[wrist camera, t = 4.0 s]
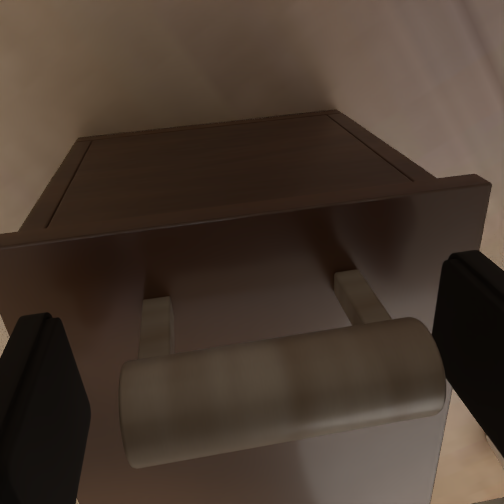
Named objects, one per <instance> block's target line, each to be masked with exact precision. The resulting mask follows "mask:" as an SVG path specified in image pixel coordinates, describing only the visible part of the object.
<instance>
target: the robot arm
mask: <svg viewBox="0 0 504 504" xmlns="http://www.w3.org/2000/svg"><path fill="white" fill-rule="evenodd" d="M432 336H433V338H434V340H435V342H436V345H437V347H438V349H439V352H440V355H441V358H442V362H443V366H444V371H445V377H446V379H447V381H448V382H449V383H450V385H451V386H452V388H453V389H454V390H455V392H456V393H457V395H458V396H459V397H460V399H461V400H462V401H463V403H464V404H465V406H466V407H467V408H468V410H469V411H470V412H471V414H472V415H473V417H474V418H475V419H476V421H477V422H478V423H479V425H480V426H481V428H482V429H483V430H484V432H485V433H486V435H487V436H488V437H489V439H490V440H491V441H492V443H493V444H494V446H495V447H496V448H497V450H498V451H499V452H500V454H501V455H502V457H503V458H504V271H503V270H502V269H501V268H499V267H498V266H497V265H496V264H495V263H493V262H492V261H491V260H490V259H488V258H487V257H486V256H485V255H484V254H482V253H481V252H480V251H478V250H470V251H463V252H456V253H452V254H450V256H449V258H448V260H445V261H444V262H443V264H442V269H441V275H440V282H439V289H438V295H437V302H436V308H435V315H434V322H433V328H432ZM90 421H91V407H90V403H89V400H88V397H87V394H86V391H85V388H84V385H83V382H82V379H81V376H80V373H79V370H78V367H77V364H76V361H75V358H74V355H73V352H72V349H71V347H70V344H69V341H68V338H67V335H66V332H65V329H64V326H63V323H62V321H61V319H60V318H59V317H56V318H53V317H52V315H51V314H50V313H49V312H45V313H38V314H31V315H24V316H21V317H20V318H19V319H18V321H17V323H16V325H15V327H14V330H13V332H12V334H11V336H10V338H9V340H8V343H7V345H6V347H5V349H4V351H3V353H2V355H1V358H0V504H76V498H77V493H78V487H79V482H80V476H81V471H82V465H83V460H84V454H85V449H86V443H87V438H88V432H89V427H90ZM473 504H504V497H503V498H498V499H493V500H488V501H483V502H478V503H473Z"/></svg>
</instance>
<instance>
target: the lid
mask: <svg viewBox="0 0 504 504" xmlns="http://www.w3.org/2000/svg"><path fill="white" fill-rule="evenodd" d="M491 187H492V184H491V183H490V182H488V181H487V180H485V179H483V178H482V177H480V176H478V175H477V174H469V175H461V176H453V177H445V178H437V179H429V180H422V181H414V182H406V183H398V184H390V185H382V186H374V187H366V188H359V189H351V190H343V191H335V192H327V193H319V194H311V195H303V196H296V197H288V198H280V199H272V200H264V201H256V202H248V203H241V204H233V205H225V206H217V207H209V208H201V209H193V210H185V211H178V212H170V213H162V214H154V215H146V216H138V217H130V218H122V219H115V220H107V221H99V222H91V223H83V224H75V225H67V226H59V227H52V228H44V229H36V230H28V231H20V232H12V233H4V234H0V314H1V317H2V319H3V322H4V324H5V326H6V329H7V331H8V334H9V336H11V334H12V332H13V330H14V327H15V325H16V323H17V321H18V319H19V318H20V317H21V316H24V315H31V314H38V313H45V312H49V313H50V314H51V315H52V317H53V318H56V317H59V318H60V319H61V321H62V323H63V326H64V329H65V332H66V335H67V338H68V341H69V344H70V347H71V349H72V352H73V355H74V358H75V361H76V364H77V367H78V370H79V373H80V376H81V379H82V382H83V385H84V388H85V391H86V394H87V397H88V400H89V403H90V407H91V421H90V427H89V432H88V438H87V443H86V449H85V454H84V460H83V465H82V471H81V476H80V482H79V487H78V493H77V499H78V502H79V504H430V502H431V497H432V492H433V487H434V482H435V476H436V471H437V466H438V461H439V456H440V450H441V445H442V440H443V435H444V430H445V425H446V419H447V414H448V409H449V404H450V399H451V394H452V386H451V385H450V383H449V382H448V381H447V379H446V377H445V371H444V366H443V362H442V358H441V355H440V352H439V349H438V347H437V345H436V342H435V340H434V338H433V336H432V328H433V322H434V315H435V308H436V302H437V295H438V289H439V282H440V275H441V269H442V264H443V262H444V261H445V260H448V258H449V256H450V254H452V253H456V252H463V251H470V250H478V251H479V249H480V244H481V239H482V233H483V228H484V223H485V218H486V213H487V207H488V202H489V197H490V192H491Z"/></svg>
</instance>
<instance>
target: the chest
mask: <svg viewBox="0 0 504 504" xmlns="http://www.w3.org/2000/svg"><path fill="white" fill-rule="evenodd" d="M429 179H437V178H436V177H435V176H433V175H432V174H430V173H429V172H427V171H426V170H424V169H423V168H421V167H420V166H418V165H417V164H416V163H414V162H413V161H411V160H410V159H408V158H407V157H405V156H404V155H402V154H401V153H400V152H398V151H397V150H395V149H394V148H392V147H391V146H389V145H388V144H386V143H385V142H384V141H382V140H381V139H379V138H378V137H376V136H375V135H373V134H372V133H370V132H369V131H368V130H366V129H365V128H363V127H362V126H360V125H359V124H357V123H356V122H354V121H353V120H352V119H350V118H349V117H347V116H346V115H344V114H343V113H341V112H340V111H338V110H328V111H319V112H310V113H301V114H292V115H283V116H273V117H264V118H255V119H246V120H237V121H228V122H219V123H209V124H200V125H191V126H182V127H173V128H164V129H154V130H145V131H136V132H127V133H118V134H109V135H99V136H90V137H81V138H78V139H77V140H76V142H75V143H74V145H73V146H72V148H71V149H70V151H69V153H68V154H67V156H66V157H65V159H64V160H63V162H62V164H61V165H60V167H59V168H58V170H57V171H56V173H55V174H54V176H53V178H52V179H51V181H50V182H49V184H48V185H47V187H46V189H45V190H44V192H43V193H42V195H41V196H40V198H39V199H38V201H37V203H36V204H35V206H34V207H33V209H32V210H31V212H30V214H29V215H28V217H27V218H26V220H25V221H24V223H23V224H22V226H21V228H20V229H19V231H18V232H20V231H28V230H36V229H44V228H52V227H59V226H67V225H75V224H83V223H91V222H99V221H107V220H115V219H122V218H130V217H138V216H146V215H154V214H162V213H170V212H178V211H185V210H193V209H201V208H209V207H217V206H225V205H233V204H241V203H248V202H256V201H264V200H272V199H280V198H288V197H296V196H303V195H311V194H319V193H327V192H335V191H343V190H351V189H359V188H366V187H374V186H382V185H390V184H398V183H406V182H414V181H422V180H429Z"/></svg>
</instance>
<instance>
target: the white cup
mask: <svg viewBox="0 0 504 504" xmlns="http://www.w3.org/2000/svg"><path fill="white" fill-rule="evenodd" d="M486 440H487V442H488V443H489V445H490V447H491V449H492V450H493V452H494V454H495V455H496V457H497V459H498V461H499V462H500V464H501V466H502V468H503V469H504V458H503V457H502V455H501V454H500V452H499V451H498V450H497V448H496V447H495V446H494V444H493V443H492V441H491V440H490V439H489V437H488V436H487V435H486Z"/></svg>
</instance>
